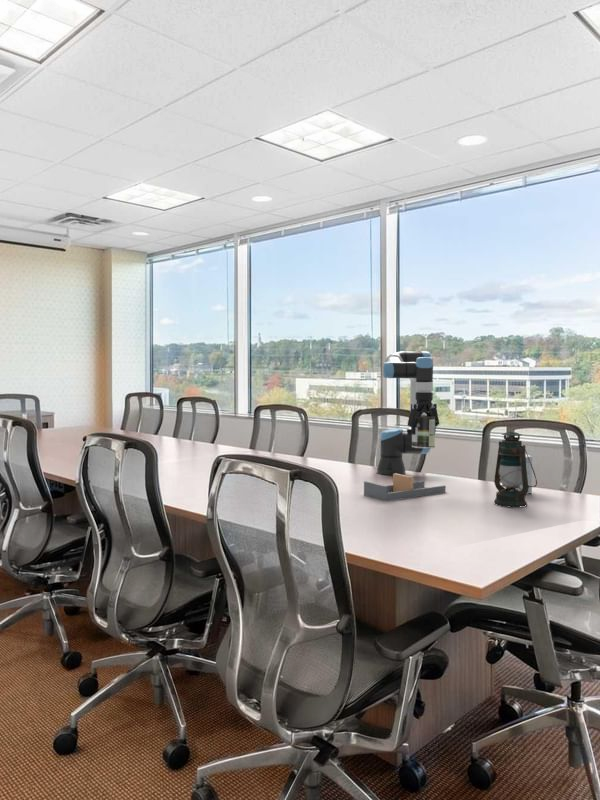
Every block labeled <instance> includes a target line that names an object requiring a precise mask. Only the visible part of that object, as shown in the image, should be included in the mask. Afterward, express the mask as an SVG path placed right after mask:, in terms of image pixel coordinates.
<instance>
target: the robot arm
mask: <svg viewBox="0 0 600 800" xmlns="http://www.w3.org/2000/svg"><path fill="white" fill-rule="evenodd" d="M382 368H383V369H382V376H383V378H385V379H408V380H410V386H409V387H410V388H409V389H410V394H409V395H410V397H409V399H410V401H409V416H408V421H407V426H408V427H407V428H406V431H404V430H403V428H392V429H387V430H382V431H381V433H380V439H379V440H380V450H379V451H380V452H379V455H380V458H379V461H378V464H377V467H376V473H377V474H380V475H386V476H387V475H388V476H390V475H391V476H393V474H395V473H396V474H401V475H406V467H405V463H404V460H403V454H409V455H410V454H411V455H412V454H413V455H426V454H427V455H428V454H429V453H430V451H431V449H422V448H413V447H412V442H417V436H418V427H416V426H417V424H418V418H415V417H421V415H427V416H435V433H437V430H436V428H437V427H438V425H440V419H439V415H438V409H437V406H438V405H437V403H433V402H432V401H433V397H434V396H433V391H434V388H433V387H434V381H433V379H434V378H433V377H434V359H433V358H432V354H431V353H430V352H429V351H422V350H421V351H420V350H418V351H413V350H411V351H410V350H409V351H407V350H405V351H404V350H403V351H397V352H392V353H390V354H389V355H388V356H387V357H386V358H385V360H384V363H383V365H382Z"/></svg>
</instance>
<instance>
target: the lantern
mask: <svg viewBox="0 0 600 800" xmlns="http://www.w3.org/2000/svg"><path fill="white" fill-rule="evenodd" d="M501 435H503V439H502V440H501V441H500V440H499V442H498V449H497V450H498V451H497V457H496V464H495V465H496V466H495V473H494V482H493V483H494V486H495V488H496V490H497V492H496V495H495V499H494V502H493V504H494V503H495V504H494V505H496V504H497V505H496V506H498V505H501V506H500V507H503V506H510V507H509V508H521V507H520V506H525V505H527V506H528V504H527V503H528V502H527V500H526V495H528V494H527V492H528V488H529V487H532V488H535V487H537V484H538V480H537V476H536V473H535V470H534V467H533V463H532V464H531V462H530V464H531V467H532V474H533V475H534V478H535V485H532V486H528V478H527V468H526V455H525V454H527V456H528V455H529V454H528V453H527V449H526V447H527V446H526V445H525V444H523V445H522V440H520V438H521V436H523V434H521V433H519V432H513V431H508V432H504V433H501ZM528 459H529V457H528ZM529 461H530V459H529ZM521 483H522V484H521ZM520 484H521V485H523V489H520V488H519V487H520V486H519V485H520ZM515 488H519V489H520V490H521V491H518V490H516V489H515Z"/></svg>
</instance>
